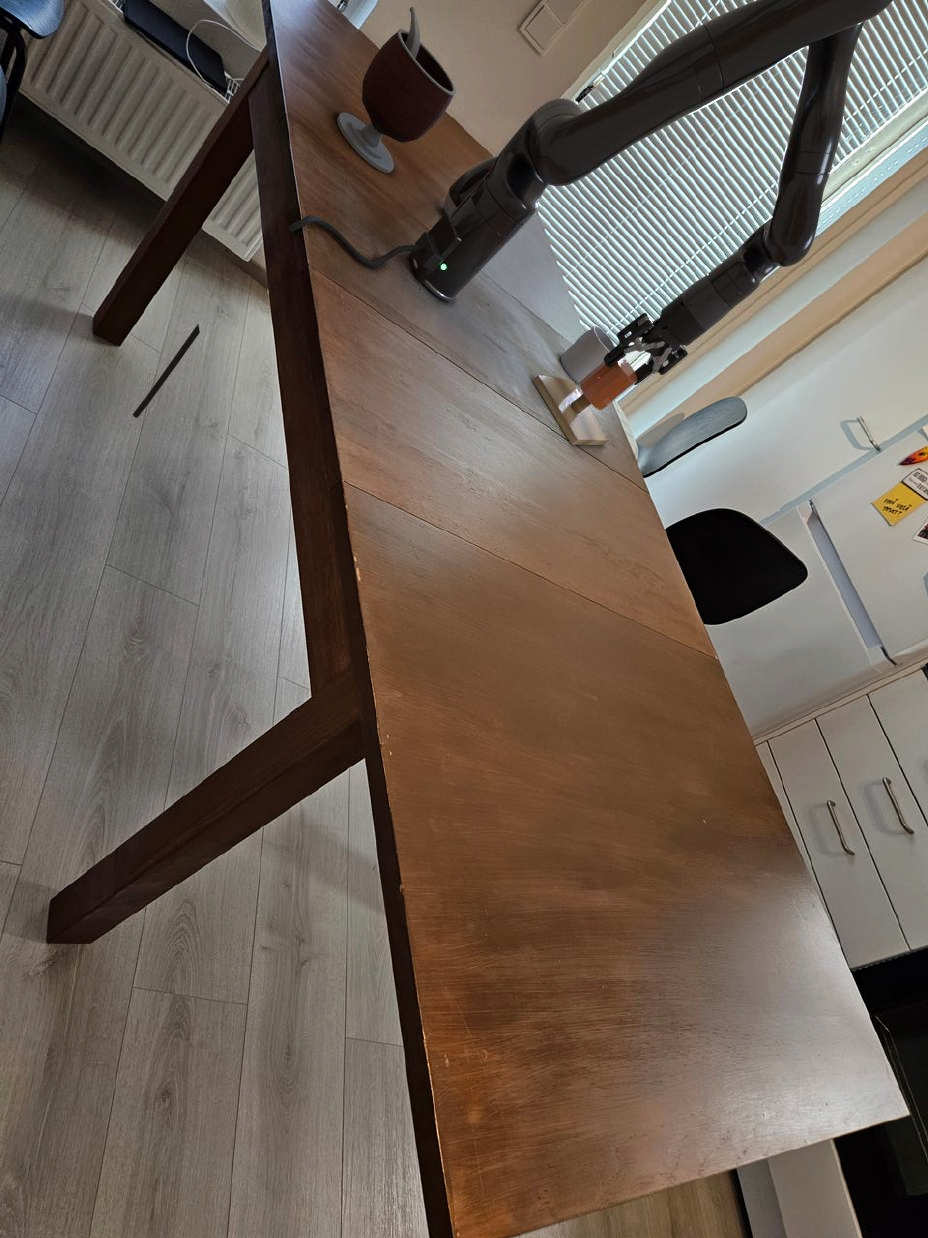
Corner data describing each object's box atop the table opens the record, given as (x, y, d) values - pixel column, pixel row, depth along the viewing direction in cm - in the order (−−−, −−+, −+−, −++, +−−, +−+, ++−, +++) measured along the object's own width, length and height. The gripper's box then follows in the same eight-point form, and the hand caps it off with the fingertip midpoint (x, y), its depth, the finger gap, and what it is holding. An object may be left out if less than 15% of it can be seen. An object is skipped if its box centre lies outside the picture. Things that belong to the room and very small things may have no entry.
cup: (562, 371, 158) (597, 340, 153) (555, 340, 164) (588, 310, 159) (585, 390, 162) (620, 361, 157) (577, 360, 168) (610, 331, 163)
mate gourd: (407, 183, 148) (482, 92, 137) (360, 165, 136) (438, 64, 125) (364, 117, 149) (435, 22, 138) (315, 94, 138) (388, -12, 127)
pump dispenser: (474, 252, 155) (531, 192, 147) (434, 214, 150) (491, 149, 142) (475, 231, 162) (530, 172, 154) (437, 193, 157) (491, 130, 149)
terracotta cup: (587, 403, 142) (622, 373, 138) (575, 376, 145) (609, 346, 140) (607, 414, 147) (642, 386, 142) (595, 388, 149) (629, 360, 145)
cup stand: (571, 444, 142) (628, 399, 135) (532, 380, 144) (586, 332, 137) (603, 445, 153) (657, 403, 146) (566, 385, 155) (618, 341, 148)
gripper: (707, 312, 140) (632, 371, 149) (667, 275, 129) (589, 341, 138) (724, 343, 137) (646, 402, 145) (685, 307, 126) (604, 373, 135)
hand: (619, 372), depth 142 cm, fingers open, 8 cm apart
